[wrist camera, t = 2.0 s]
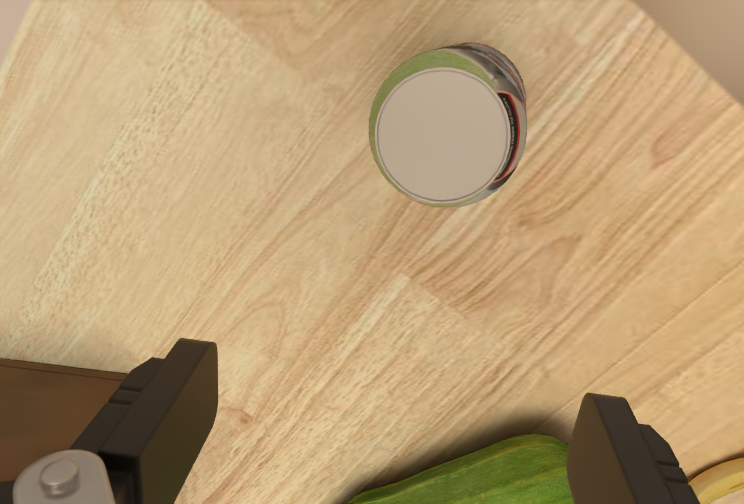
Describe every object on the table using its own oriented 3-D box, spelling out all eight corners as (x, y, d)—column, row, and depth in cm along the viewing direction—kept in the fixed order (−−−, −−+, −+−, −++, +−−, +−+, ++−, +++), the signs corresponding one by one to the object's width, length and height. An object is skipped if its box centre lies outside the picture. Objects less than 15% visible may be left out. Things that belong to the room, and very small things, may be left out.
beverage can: (508, 161, 33) (548, 244, 22) (378, 144, 33) (354, 217, 22) (533, 44, 31) (593, 71, 20) (392, 25, 31) (373, 42, 20)
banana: (667, 503, 42) (690, 551, 38) (655, 487, 41) (678, 535, 38) (783, 453, 39) (819, 500, 36) (771, 435, 39) (808, 481, 35)
